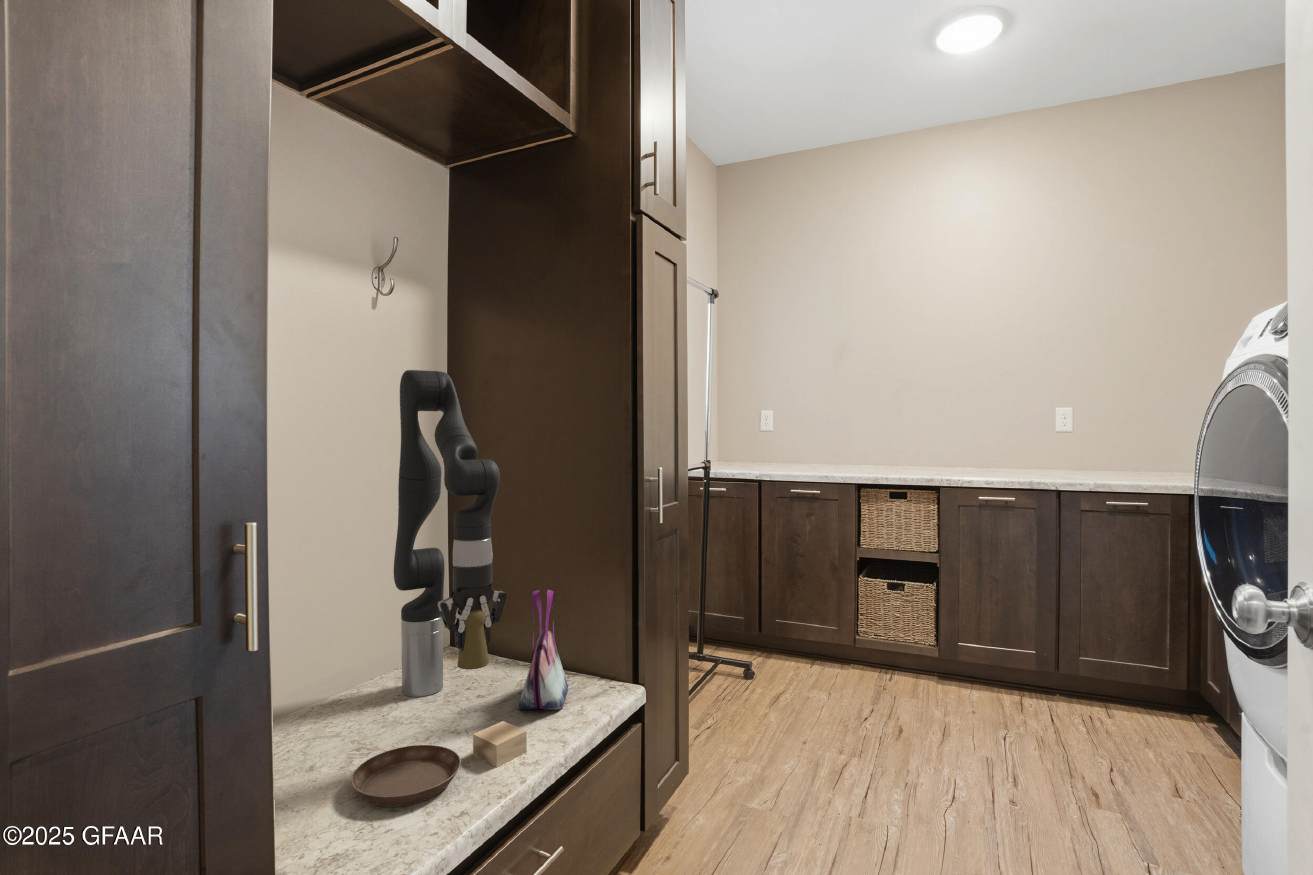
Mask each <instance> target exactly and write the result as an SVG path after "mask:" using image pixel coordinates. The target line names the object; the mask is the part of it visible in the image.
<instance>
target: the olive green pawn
mask: <svg viewBox="0 0 1313 875" xmlns="http://www.w3.org/2000/svg"><path fill="white" fill-rule="evenodd" d="M460 615H462V612H461V613H460ZM486 619H487V617H486V615H485V613H484V612H483V611H482V610H481V609H478V610H472V611H470V613H469V615H468V616H467V619H466V620H465V621H464V624H465V629H464V632H465V644H464V650H463V651H460V650H459V649H458V657H457V658H458V659H457V664H456V665H457V667H458V668H459V669H461V670H468V671H469V670H478V669H482V668H485V667H487V666H489V663H490V661H489V653H488V646H487V645H486V638H485V631H484V623H485V622H486ZM459 621H460V619H459Z"/></svg>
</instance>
